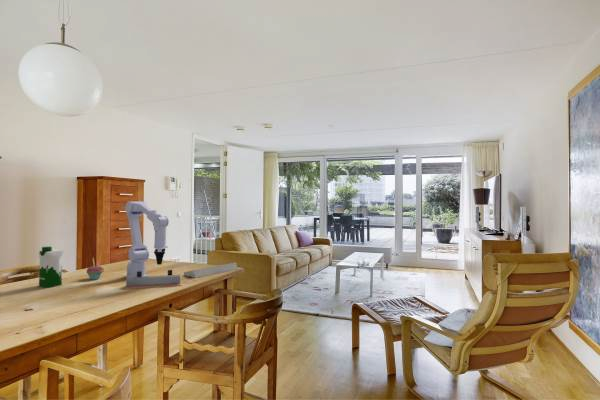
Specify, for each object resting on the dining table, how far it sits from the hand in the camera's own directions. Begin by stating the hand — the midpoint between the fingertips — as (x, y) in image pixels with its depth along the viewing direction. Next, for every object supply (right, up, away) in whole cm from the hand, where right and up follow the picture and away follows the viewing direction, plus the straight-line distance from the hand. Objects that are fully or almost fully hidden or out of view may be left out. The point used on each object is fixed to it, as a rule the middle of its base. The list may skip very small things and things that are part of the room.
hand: (159, 263), depth 192 cm
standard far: (+4, -10, +4) cm, 12 cm away
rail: (0, -10, -8) cm, 13 cm away
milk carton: (-51, -9, -13) cm, 53 cm away
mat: (0, -10, -8) cm, 13 cm away
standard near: (-11, -10, -2) cm, 15 cm away
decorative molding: (+22, -12, +28) cm, 37 cm away
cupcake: (-38, -10, +4) cm, 39 cm away
